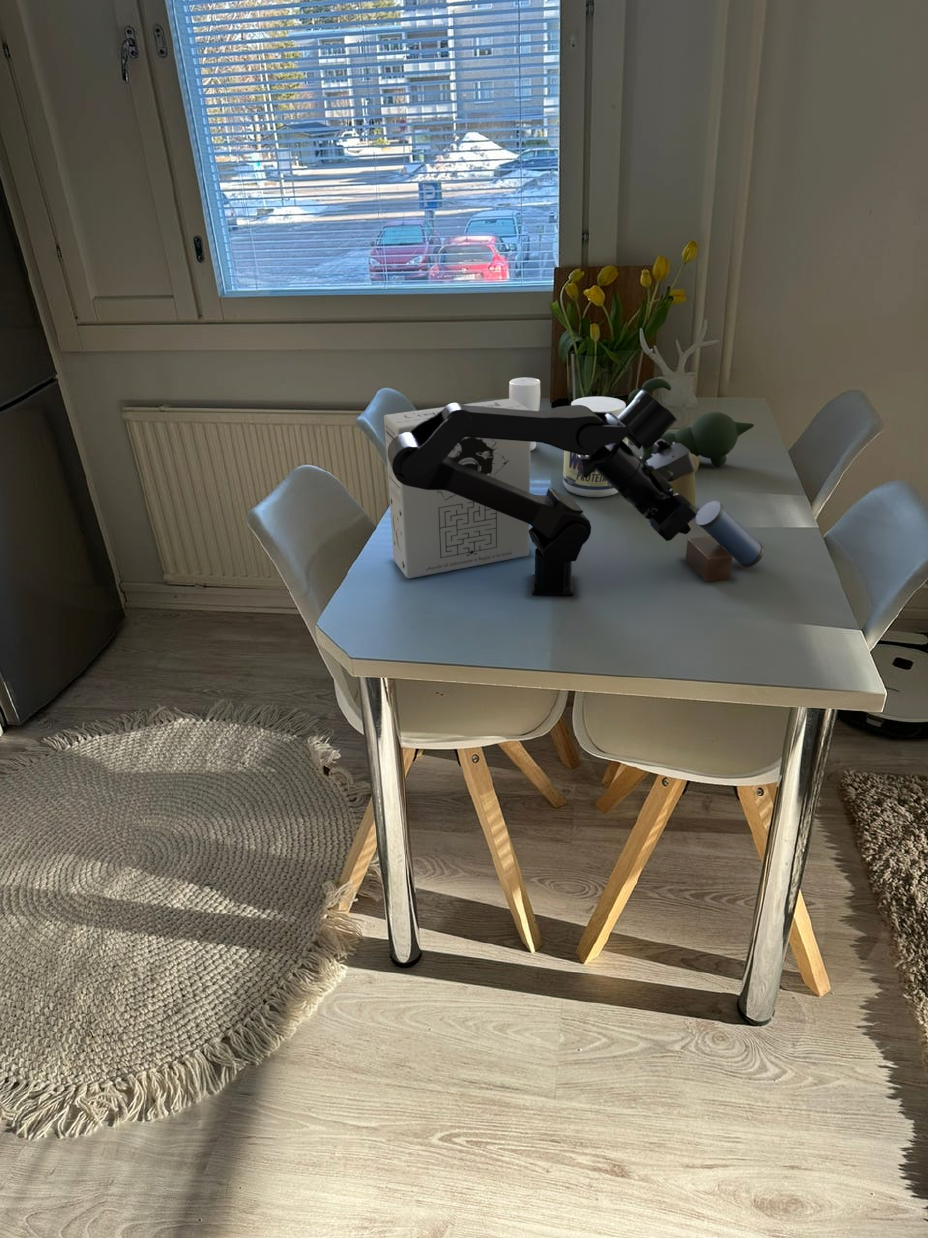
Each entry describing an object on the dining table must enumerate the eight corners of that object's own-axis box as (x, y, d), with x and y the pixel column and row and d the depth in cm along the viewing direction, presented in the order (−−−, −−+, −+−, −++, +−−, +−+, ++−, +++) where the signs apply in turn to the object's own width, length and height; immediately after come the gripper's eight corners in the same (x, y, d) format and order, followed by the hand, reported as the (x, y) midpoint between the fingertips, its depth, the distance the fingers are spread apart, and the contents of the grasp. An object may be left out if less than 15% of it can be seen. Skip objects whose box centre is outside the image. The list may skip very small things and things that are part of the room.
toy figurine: (628, 476, 184) (753, 471, 178) (626, 386, 175) (758, 378, 169) (630, 461, 192) (750, 456, 186) (628, 374, 183) (754, 366, 177)
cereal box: (511, 539, 153) (512, 397, 141) (529, 556, 147) (531, 409, 135) (393, 560, 147) (383, 414, 134) (407, 579, 141) (397, 427, 128)
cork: (658, 514, 161) (663, 457, 156) (667, 503, 166) (673, 447, 161) (690, 519, 159) (697, 461, 153) (699, 508, 164) (706, 451, 158)
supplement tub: (556, 495, 171) (559, 410, 162) (570, 474, 181) (573, 392, 172) (618, 502, 167) (624, 414, 159) (629, 480, 177) (635, 397, 169)
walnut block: (705, 582, 138) (708, 559, 136) (685, 560, 144) (687, 538, 142) (729, 579, 138) (732, 556, 136) (707, 558, 145) (710, 535, 143)
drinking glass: (503, 446, 197) (503, 379, 190) (530, 441, 200) (531, 375, 192) (517, 455, 192) (518, 386, 184) (544, 450, 194) (546, 382, 187)
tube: (698, 578, 139) (705, 509, 133) (686, 565, 143) (693, 498, 137) (766, 569, 141) (776, 501, 135) (753, 557, 145) (762, 491, 139)
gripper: (690, 450, 120) (754, 516, 127) (641, 412, 136) (700, 473, 143) (632, 509, 123) (698, 571, 130) (590, 465, 139) (651, 522, 146)
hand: (687, 531), depth 137 cm, fingers closed
